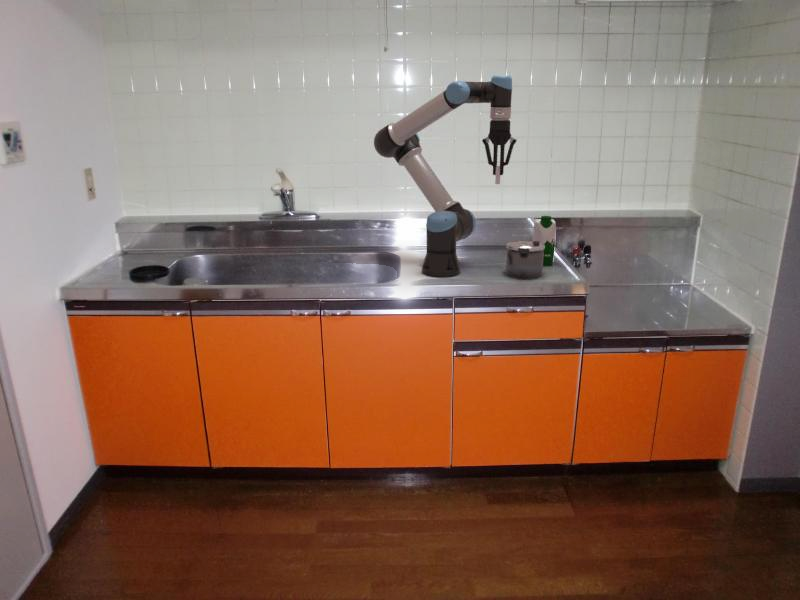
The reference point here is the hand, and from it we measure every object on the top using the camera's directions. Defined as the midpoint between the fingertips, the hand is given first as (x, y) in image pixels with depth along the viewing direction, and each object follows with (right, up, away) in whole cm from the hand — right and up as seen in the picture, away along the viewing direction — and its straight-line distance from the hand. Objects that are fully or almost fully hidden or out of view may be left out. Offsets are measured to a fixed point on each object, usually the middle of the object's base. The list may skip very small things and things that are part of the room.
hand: (497, 183), depth 236 cm
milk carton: (+22, -29, +21) cm, 42 cm away
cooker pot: (+11, -34, +5) cm, 37 cm away
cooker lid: (+11, -25, +1) cm, 27 cm away
